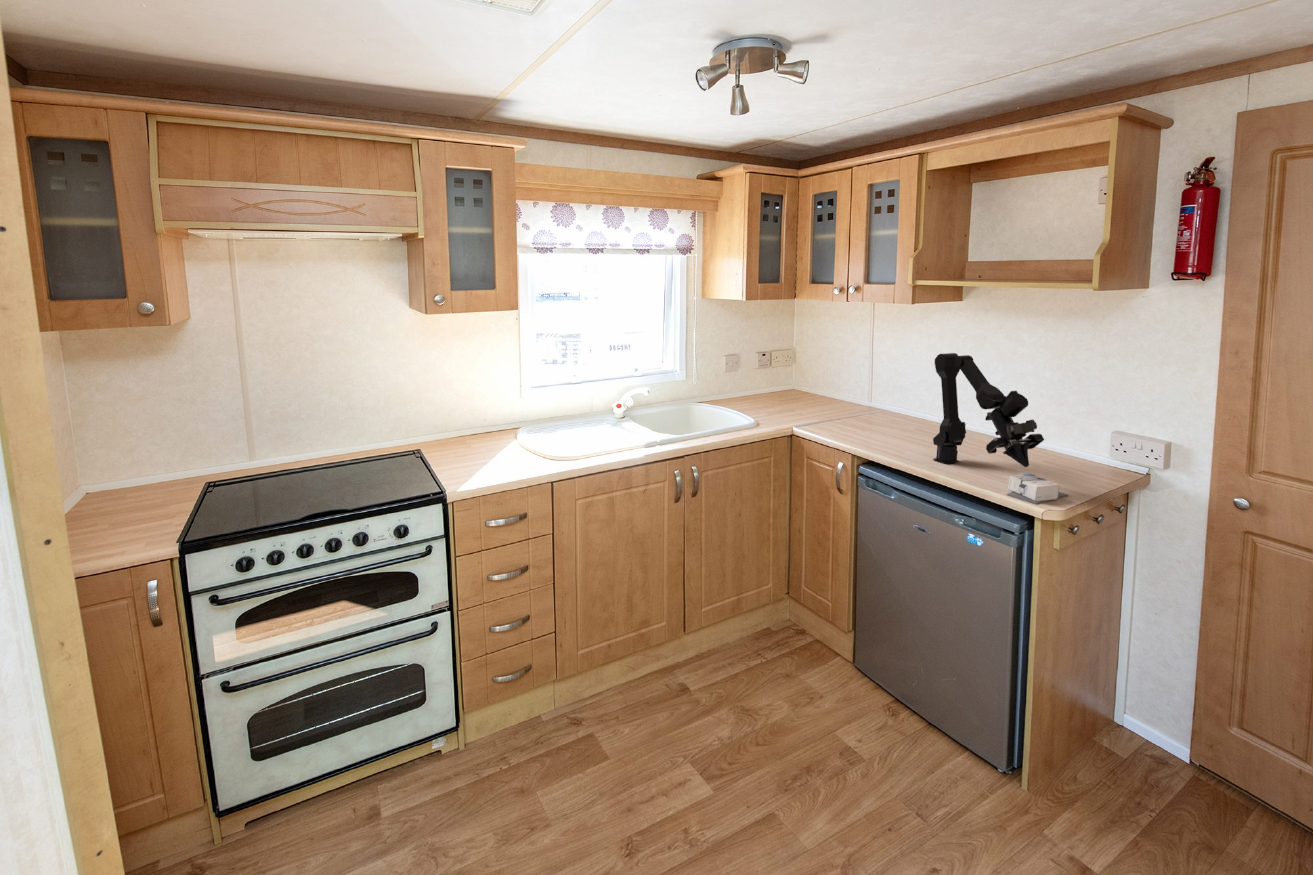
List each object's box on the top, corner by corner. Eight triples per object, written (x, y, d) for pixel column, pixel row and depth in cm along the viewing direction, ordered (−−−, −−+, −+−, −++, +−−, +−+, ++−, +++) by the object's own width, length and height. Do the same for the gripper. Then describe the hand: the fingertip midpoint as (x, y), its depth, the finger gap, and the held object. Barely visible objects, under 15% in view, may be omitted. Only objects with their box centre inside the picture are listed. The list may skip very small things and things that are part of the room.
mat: (1006, 494, 230) (1006, 493, 230) (1038, 487, 238) (1038, 485, 237) (1035, 504, 222) (1035, 503, 222) (1068, 495, 229) (1068, 494, 229)
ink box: (1031, 473, 235) (1060, 483, 224) (1029, 488, 236) (1058, 499, 225) (1009, 475, 232) (1037, 485, 221) (1007, 490, 234) (1035, 501, 223)
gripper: (996, 413, 229) (1019, 456, 221) (1043, 409, 234) (1067, 450, 227) (976, 432, 238) (997, 474, 230) (1021, 427, 243) (1043, 468, 236)
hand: (1027, 466), depth 231 cm, fingers closed
